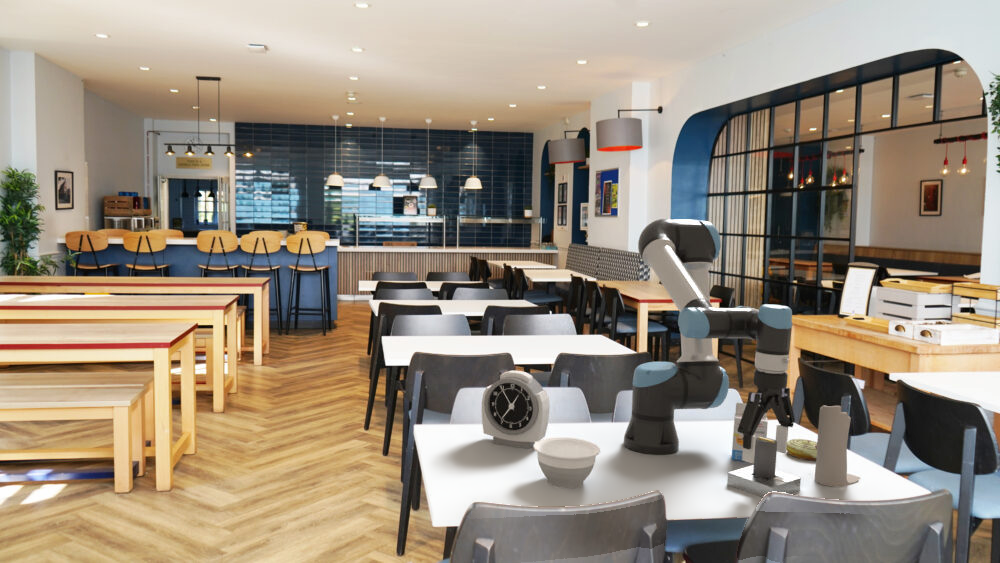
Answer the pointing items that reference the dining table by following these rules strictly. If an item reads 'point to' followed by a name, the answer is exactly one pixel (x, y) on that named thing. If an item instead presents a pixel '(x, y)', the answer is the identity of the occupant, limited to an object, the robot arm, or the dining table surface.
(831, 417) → the grey boot shape
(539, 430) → the alarm clock
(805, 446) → the decorated donut
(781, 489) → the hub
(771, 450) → the grey rectangular block
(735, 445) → the ink box
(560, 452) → the bowl
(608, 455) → the dining table surface
